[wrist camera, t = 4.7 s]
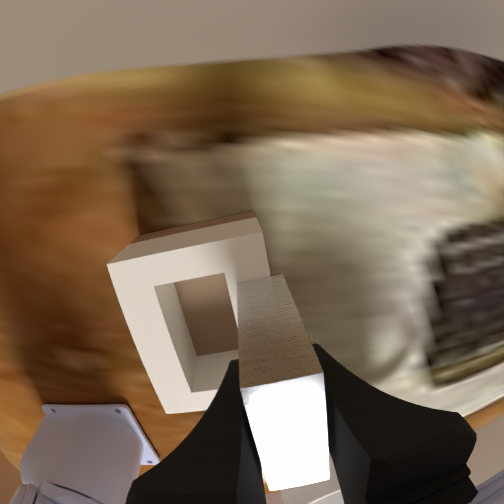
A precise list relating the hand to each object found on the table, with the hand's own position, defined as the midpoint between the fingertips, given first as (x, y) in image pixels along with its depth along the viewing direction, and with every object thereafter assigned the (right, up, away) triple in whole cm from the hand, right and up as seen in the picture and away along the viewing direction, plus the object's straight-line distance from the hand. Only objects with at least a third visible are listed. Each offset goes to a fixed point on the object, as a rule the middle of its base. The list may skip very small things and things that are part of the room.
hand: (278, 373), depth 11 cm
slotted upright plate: (-3, -2, +10) cm, 10 cm away
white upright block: (0, +1, +3) cm, 3 cm away
